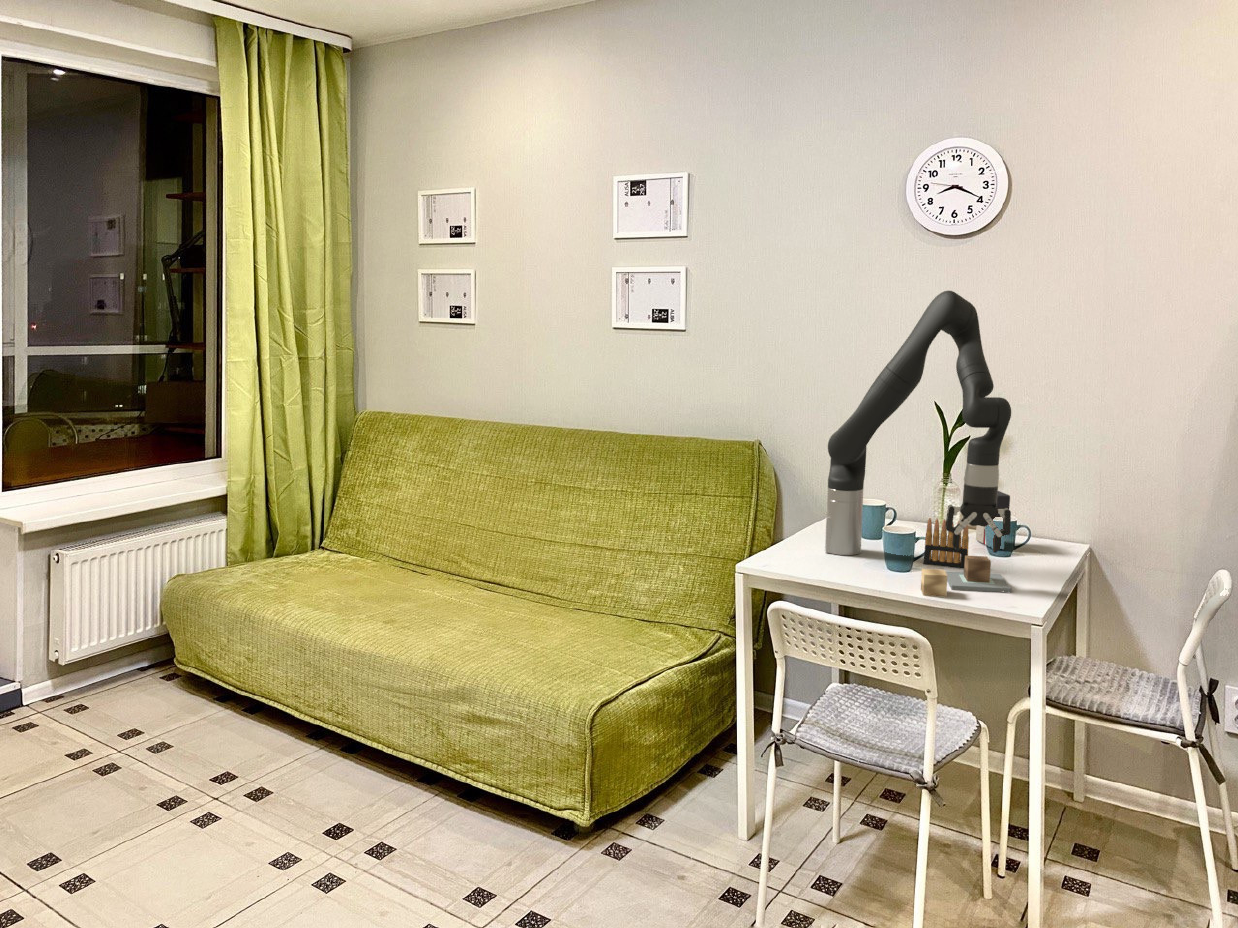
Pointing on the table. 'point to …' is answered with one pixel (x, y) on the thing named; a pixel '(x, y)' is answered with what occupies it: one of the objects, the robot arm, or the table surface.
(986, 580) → the walnut block
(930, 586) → the maple block
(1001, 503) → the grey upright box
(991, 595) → the table surface
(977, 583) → the baseplate
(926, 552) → the ammunition clip
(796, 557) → the table surface
